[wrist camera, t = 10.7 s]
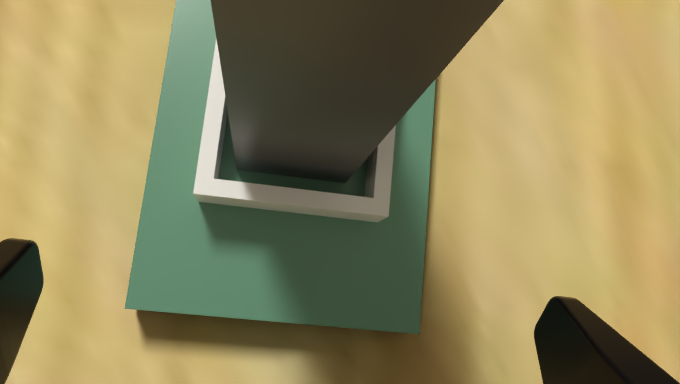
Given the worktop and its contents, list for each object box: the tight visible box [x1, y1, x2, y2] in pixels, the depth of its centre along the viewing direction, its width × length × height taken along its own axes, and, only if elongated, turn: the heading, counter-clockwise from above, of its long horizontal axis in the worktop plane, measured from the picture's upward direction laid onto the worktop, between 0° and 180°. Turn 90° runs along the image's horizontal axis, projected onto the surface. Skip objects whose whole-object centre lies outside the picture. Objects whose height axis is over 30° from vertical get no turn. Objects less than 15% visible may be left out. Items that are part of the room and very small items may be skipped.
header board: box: [125, 0, 436, 334], centre depth 17 cm, size 14×9×2 cm, turn 175°
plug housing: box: [211, 0, 504, 183], centre depth 12 cm, size 5×4×12 cm
